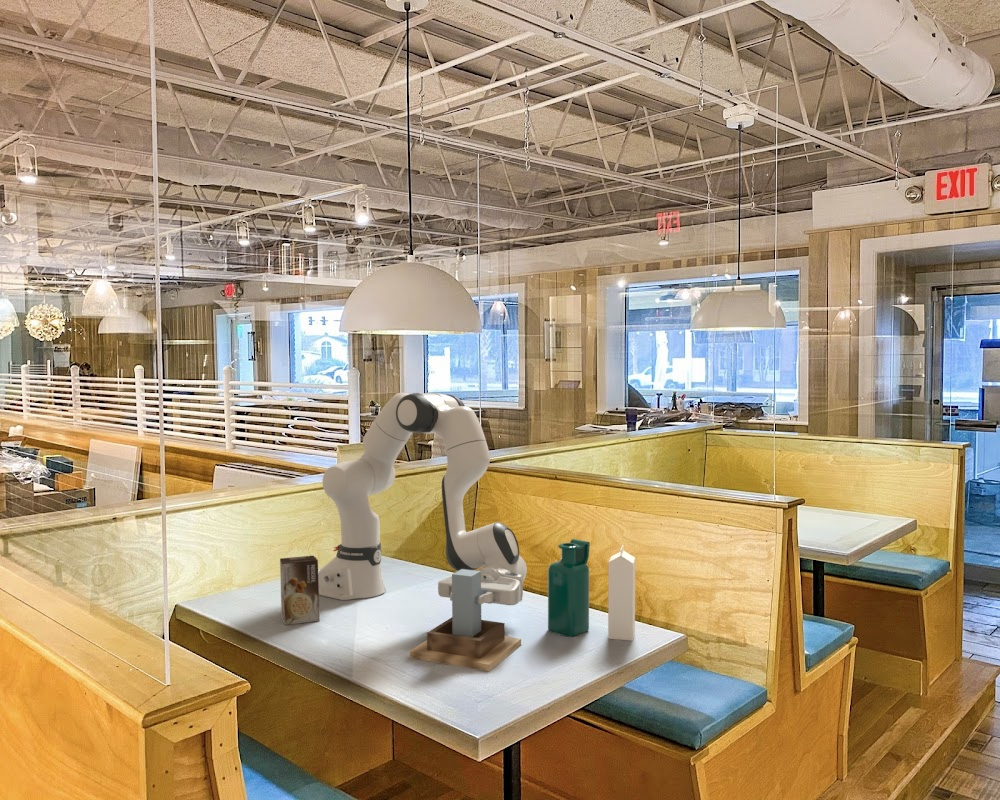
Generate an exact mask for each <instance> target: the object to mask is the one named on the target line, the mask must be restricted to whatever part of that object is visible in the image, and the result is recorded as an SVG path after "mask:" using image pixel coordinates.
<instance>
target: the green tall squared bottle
mask: <svg viewBox="0 0 1000 800" xmlns="http://www.w3.org/2000/svg"><path fill="white" fill-rule="evenodd" d="M590 545H591V544H590V541H588V540H587V541H586V540H582V539H576V538H572V539H571V540H570V542H564V543H563V542H562V543H559V544H558V545H557V547H558V548H559V549H561V550H560V551H561V557H560V559H559V560H558V561H555V562H552V563H550V564H549V566H548V569H547V630H548V631H549V632H550V633H554V634H556V635H561V636H564V637H568V638H573V637H577V636H579V635H581V634H584V633H586V632H588V631H589V629H590V569H589V566H588V560H589V557H590Z"/></svg>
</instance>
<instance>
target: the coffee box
mask: <svg viewBox="0 0 1000 800" xmlns="http://www.w3.org/2000/svg"><path fill="white" fill-rule="evenodd" d="M279 563H280V564H279V565H280V566H279V568H280V570H279V571H280V572H279V573H280V603H281V604H280V606H281V607H280V608H281V609H280V611H281V620H282V622H283V624H284V626H289V625H296V624H304V623H310V622H312V623H313V622H320V621H321V619H320V615H321V614H320V595H319V579H318V573H319V560H318V558H317V557H315V555H305V556H294V557H283V558H279Z"/></svg>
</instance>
